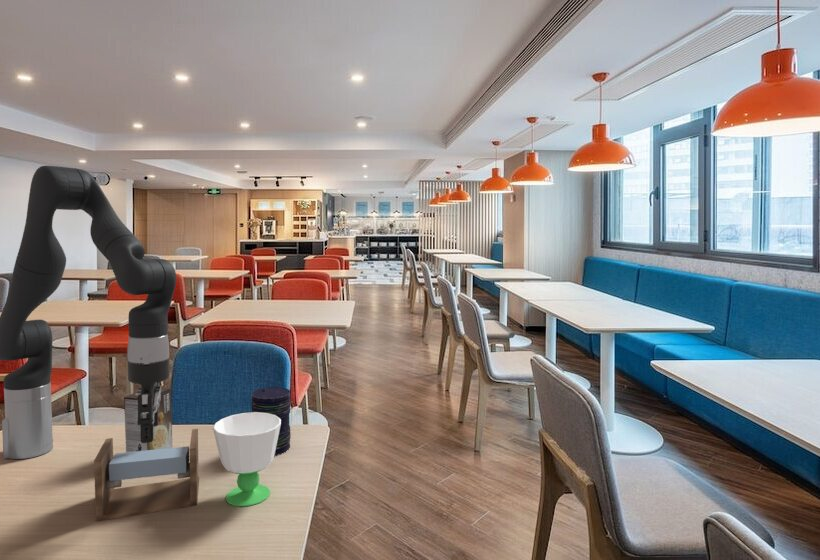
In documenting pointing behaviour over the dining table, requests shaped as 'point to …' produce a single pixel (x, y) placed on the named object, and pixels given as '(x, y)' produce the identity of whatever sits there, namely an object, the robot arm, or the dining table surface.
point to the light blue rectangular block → (149, 463)
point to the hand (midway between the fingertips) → (149, 433)
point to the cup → (247, 452)
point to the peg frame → (143, 488)
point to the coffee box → (160, 431)
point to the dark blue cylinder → (275, 411)
